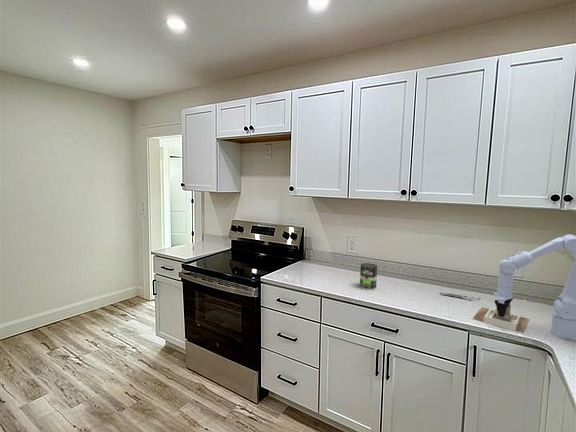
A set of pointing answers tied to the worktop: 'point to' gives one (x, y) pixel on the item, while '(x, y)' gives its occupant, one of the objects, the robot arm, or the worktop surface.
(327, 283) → the worktop surface
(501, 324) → the cream square tray
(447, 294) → the driftwood
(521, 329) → the board
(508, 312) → the tall bronze block
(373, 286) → the coffee can
